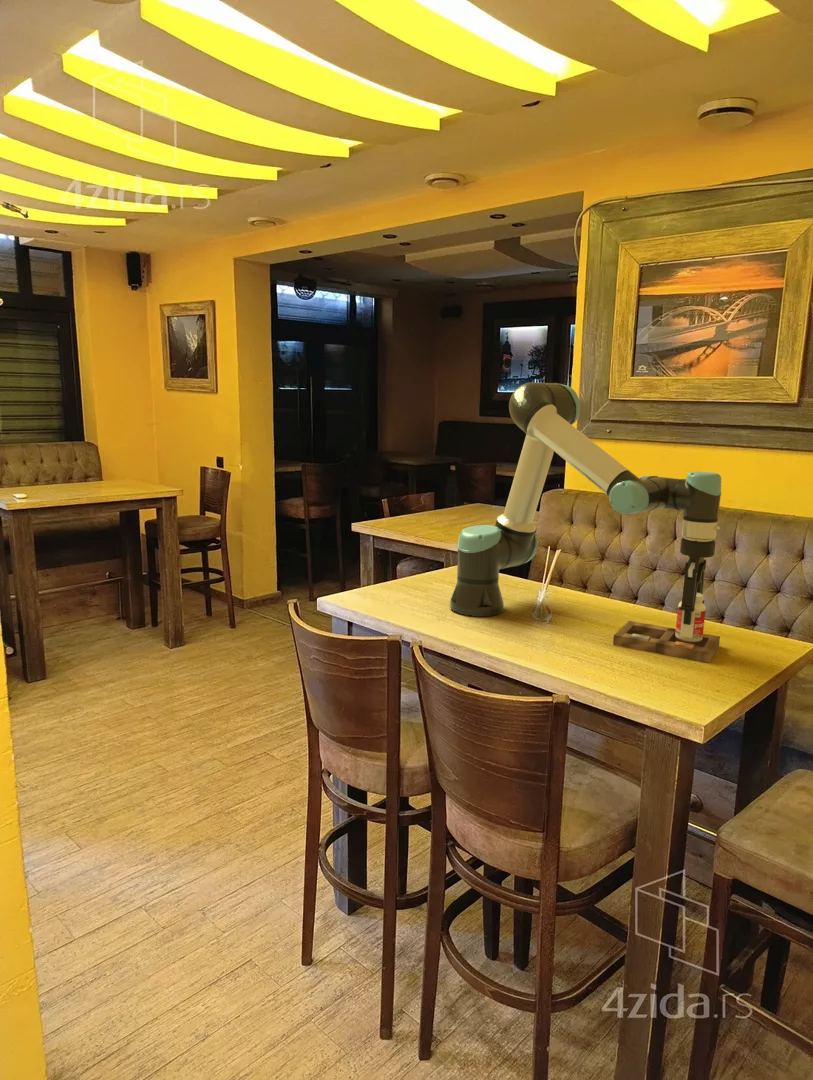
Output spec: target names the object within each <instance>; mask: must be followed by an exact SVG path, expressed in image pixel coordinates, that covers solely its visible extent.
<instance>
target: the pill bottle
mask: <svg viewBox="0 0 813 1080" xmlns="http://www.w3.org/2000/svg"><path fill="white" fill-rule="evenodd" d="M681 595H682V596H683V593H682V594H681ZM682 596H681V597H682ZM704 597H705V595H704V593H703V594H701V593H697V594H696V601H695V610H694V611H695V619H694V628H693V638H688V637H682V636H680V630H681V620H682V610H679V607H681V605H682V600H680V602H679V603H678V605H677V612H676V613H677V614H676V623H675V629H676V631H675V636H676V637H677V638H678V639H680V640H683V641H688V642H698V641H701V640H702V638H703V634H704V631H705V630H704V629H705V621H706V609H707V607H706V605H705V603H704V604H703V603H702V602H703V600H704Z"/></svg>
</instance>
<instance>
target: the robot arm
mask: <svg viewBox="0 0 813 1080" xmlns="http://www.w3.org/2000/svg"><path fill="white" fill-rule="evenodd" d="M508 402H509V403H508V410H509V415H510V417H511V419H512V421H513V422H514V424H515V425H516V426H517V427H518V428H519V429H520V430H522V431H523V432H524V433H525V434H526V435H525V438H524V442H523V444H522V445H523V446H522V449H521V452H520V456H519V459H518V462H517V466H516V470H515V473H514V477H513V480H512V484H511V488H510V491H509V494H508V498H507V501H506V504H505V508H504V511H503V513H501V514H499V515H498V516H497V517H496V520H495V524H494V525H491V524H479V525H476V524H475V525H472V526H467V527H465V528H463V529H462V530H461V531H460V532H459V534H458V540H457V541H458V542H457V573H456V575H457V577H456V579H457V580H456V583H455V587H454V590H453V592H452V595H451V597H450V603H449V604H450V605H449V609H450V608H451V609H452V610H454V611H456V612H458V613H461V614H460V615H462V614H466V615H465V616H468V615H472V616H471V617H492V615H493V616H498V615H500V614H502V613H503V612H504V611H505V610H504V606H505V602H504V598H503V596H502V595H503V594H502V592H501V589H500V585H499V580H500V579H499V576H500V570H503V569H507V568H512V567H519V566H521V565H524V564H527V563H528V562H529V561H531V560H532V559H534V556H535V555H536V554H537V552H538V549H539V540H538V537H537V536H538V535H537V533H536V530H537V527H536V525H535V523H534V518H535V515H536V512H537V509H538V506H539V503H540V498H541V496H542V492H543V490H544V489H543V488H544V486H545V483H546V479H547V475H548V473H549V470H550V466H551V464H552V463H551V462H552V459H553V456H554V453H556V454H557V455H558V456H559V457H560V458H562V459H563V460H565V462H567V463H568V464H569V465H570V466H571V467H573V469H575V470H576V471H578V473H580V474H581V475H582V476H584V477H585V478H586V479H587V480H588V481H589V482H591V483H592V484H593V485H594V486H595V487H597V488H598V489H599V490H600V491H602V492H603V493H604V494H605V495H607V496H608V500H609V503H610V505H611V508H612V509H613V510H614V511H615V512H617V513H618V514H622V515H637V514H640V513H644V512H650V511H655V510H660V509H662V510H670V511H671V510H672V511H679V512H683V513H682V514H683V517H682V523H681V525H682V526H681V533H680V534H681V536H682V538H681V539H680V546H679V553H681V555H683V556H688V557H689V558H688V561H687V562H685V566H684V567H685V568H684V579H683V588H682V594H683V596H681V601H682V605H681V607H679V610H682V620H681V630H680V636H682V637H688V638H693V628H694V619H695V611H694V610H695V601H696V594H697V593H701V594H703V595H704V582H705V573H706V572H705V570H706V568H707V559H706V558H712V557H714V556H715V554H716V553H715V552H716V543H717V542H716V541H715V539H716V538H717V531H719V530H720V529H721V528H720V526H719V525H718V522H719V520H718V519H719V513H720V511H719V510H720V505H721V496H722V476H721V475H720V474H719V473H717V472H711V471H689V472H688V473H687V474H686V475H687V476H686V478H673V477H664V476H663V477H662V476H658V475H650V476H649V475H643V476H640V477H638V475H635V474H634V473H633V472H632V471H631V470H629V469H628V468H627V467H625V466H624V465H623V464H622V463H621V462H619V461H618V460H617V459H615V457H613V456H612V455H611V454H609V453H608V452H606V451H605V450H604V449H603V448H602V447H600V446H599V445H598V444H596V443H595V442H594V441H592V439H590V438H589V437H588V436H586V435H585V434H584V433H583V432H581V431H580V430H578V428H576V427H575V426H574V424H575V423H576V422H577V420H578V419H579V418H580V415H581V410H582V409H581V401H580V398H579V396H578V393H577V392H576V391H575V389H573V388H572V387H570V386H569V385H566V384H564V383H563V384H562V383H559V382H558V383H557V382H533V381H532V382H527V383H524V384H521V385H520V386H518V387H517V388H516V389H515V390H514V391H513V392H512V394H511V397H510V399H509V401H508ZM702 603H703V604H704V605H705V600H704V599H703V602H702ZM451 609H450V610H451ZM452 610H451V611H452ZM454 611H453V612H454ZM456 612H455V613H456ZM458 613H457V614H458ZM497 614H498V615H497Z"/></svg>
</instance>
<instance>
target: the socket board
mask: <svg viewBox="0 0 813 1080" xmlns="http://www.w3.org/2000/svg"><path fill="white" fill-rule="evenodd" d="M675 631H676V628H674V627H667V626H661V625H655V624H651V623H643V622H638V621H631V620H628V621H626V623H625V624H623V626H622V627H620V629H619V630H617V631H616V632H615V633H614V634H613V639H612V640H613V641H612V642H613V643H612V645H613V646H617V647H624V648H629V649H633V650H639V651H644V652H649V653H655V654H659V655H664V656H670V657H674V658H675V657H676V658H681V659H686V660H691V661H696V662H702V663H707V664H710V663H711V662H712V661H713V657H714V656H715V655H716V652H717V651H718V650H719V647H720V641H721V635H720V636H719V635H714V634H708V633H703V638H702V640H701V641H698V642H688V641H683V640H680V639H678V638H677V637H676V636H675Z"/></svg>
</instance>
